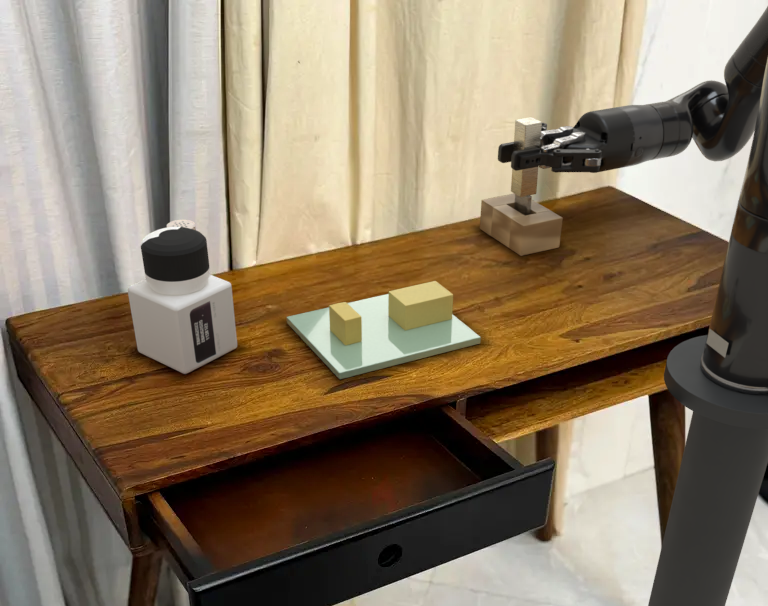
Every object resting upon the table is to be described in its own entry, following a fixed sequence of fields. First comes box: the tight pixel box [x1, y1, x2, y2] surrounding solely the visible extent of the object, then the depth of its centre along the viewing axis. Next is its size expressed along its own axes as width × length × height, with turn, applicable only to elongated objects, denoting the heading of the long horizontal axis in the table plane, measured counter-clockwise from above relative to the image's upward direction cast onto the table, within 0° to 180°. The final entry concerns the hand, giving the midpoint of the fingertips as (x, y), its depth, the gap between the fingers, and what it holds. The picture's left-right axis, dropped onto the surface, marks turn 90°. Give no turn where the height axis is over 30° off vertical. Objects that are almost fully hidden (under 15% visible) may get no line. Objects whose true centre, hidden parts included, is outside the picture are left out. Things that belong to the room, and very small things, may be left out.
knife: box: [510, 116, 543, 216], centre depth 125 cm, size 3×2×15 cm
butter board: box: [286, 293, 482, 380], centre depth 109 cm, size 14×17×1 cm
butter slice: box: [328, 301, 362, 345], centre depth 106 cm, size 4×2×3 cm, turn 27°
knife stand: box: [479, 192, 564, 257], centre depth 129 cm, size 10×6×4 cm, turn 27°
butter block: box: [388, 280, 454, 330], centre depth 109 cm, size 4×6×3 cm, turn 117°
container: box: [127, 226, 238, 375], centre depth 102 cm, size 8×8×13 cm
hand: (506, 157), depth 122 cm, fingers closed on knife, 2 cm apart
